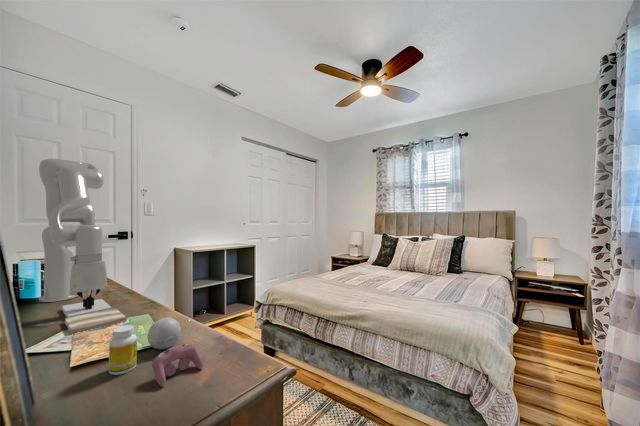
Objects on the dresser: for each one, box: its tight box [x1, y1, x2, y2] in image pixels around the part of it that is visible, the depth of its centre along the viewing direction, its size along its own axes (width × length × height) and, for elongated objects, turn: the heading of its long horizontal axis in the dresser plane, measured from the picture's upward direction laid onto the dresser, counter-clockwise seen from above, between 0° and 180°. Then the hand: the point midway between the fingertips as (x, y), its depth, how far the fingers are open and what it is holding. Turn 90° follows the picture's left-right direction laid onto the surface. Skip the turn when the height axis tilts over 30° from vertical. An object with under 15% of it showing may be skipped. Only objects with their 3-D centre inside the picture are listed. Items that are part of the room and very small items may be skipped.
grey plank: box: [61, 298, 113, 318], centre depth 103 cm, size 16×12×2 cm
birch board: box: [64, 307, 128, 336], centre depth 92 cm, size 14×14×2 cm
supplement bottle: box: [108, 324, 138, 376], centre depth 65 cm, size 5×5×10 cm
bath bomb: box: [147, 317, 182, 350], centre depth 75 cm, size 8×8×8 cm
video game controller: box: [151, 343, 204, 387], centre depth 63 cm, size 10×5×7 cm, turn 141°
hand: (88, 308), depth 102 cm, fingers closed
